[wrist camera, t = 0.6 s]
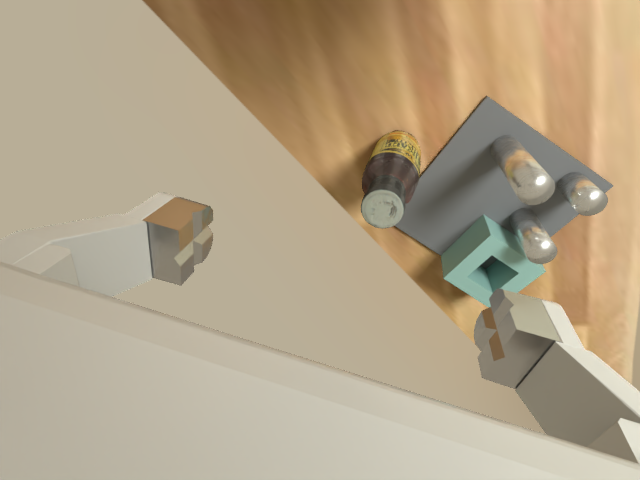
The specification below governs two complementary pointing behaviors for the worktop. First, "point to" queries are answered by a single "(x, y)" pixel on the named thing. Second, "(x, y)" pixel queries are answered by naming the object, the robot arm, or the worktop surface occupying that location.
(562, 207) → the mat
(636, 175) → the worktop surface
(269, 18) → the worktop surface
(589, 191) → the short pin
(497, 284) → the block
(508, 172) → the long pin
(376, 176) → the sauce bottle
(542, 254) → the medium pin
